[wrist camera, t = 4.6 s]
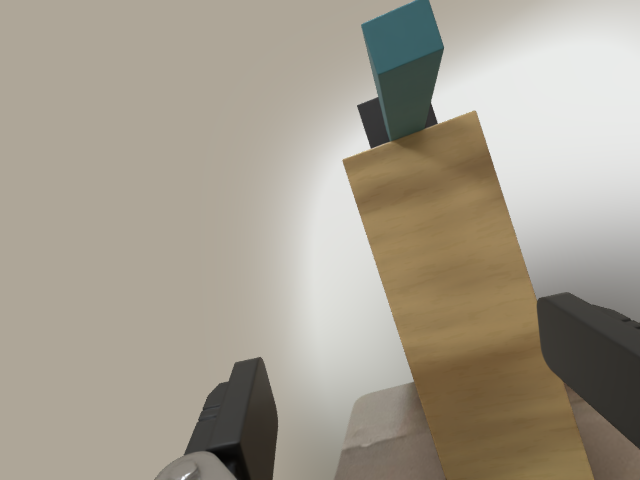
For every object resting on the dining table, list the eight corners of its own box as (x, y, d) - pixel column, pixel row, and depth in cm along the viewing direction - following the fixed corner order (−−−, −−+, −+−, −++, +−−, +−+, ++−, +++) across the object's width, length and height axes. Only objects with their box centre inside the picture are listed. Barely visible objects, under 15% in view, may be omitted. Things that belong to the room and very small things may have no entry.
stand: (610, 528, 28) (475, 109, 28) (467, 544, 31) (341, 159, 31) (513, 370, 56) (445, 156, 55) (441, 385, 58) (375, 181, 58)
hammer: (494, 27, 14) (450, -111, 14) (333, 93, 15) (292, -33, 15) (435, 146, 41) (420, 100, 41) (379, 166, 43) (364, 121, 43)
